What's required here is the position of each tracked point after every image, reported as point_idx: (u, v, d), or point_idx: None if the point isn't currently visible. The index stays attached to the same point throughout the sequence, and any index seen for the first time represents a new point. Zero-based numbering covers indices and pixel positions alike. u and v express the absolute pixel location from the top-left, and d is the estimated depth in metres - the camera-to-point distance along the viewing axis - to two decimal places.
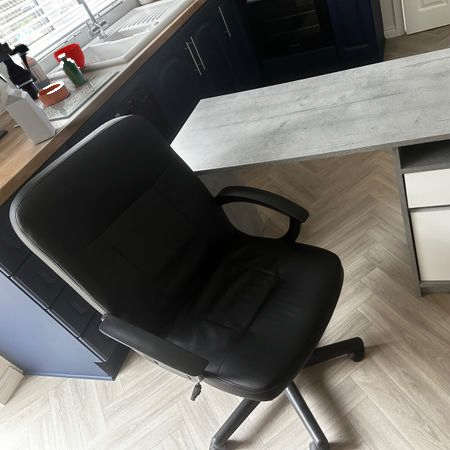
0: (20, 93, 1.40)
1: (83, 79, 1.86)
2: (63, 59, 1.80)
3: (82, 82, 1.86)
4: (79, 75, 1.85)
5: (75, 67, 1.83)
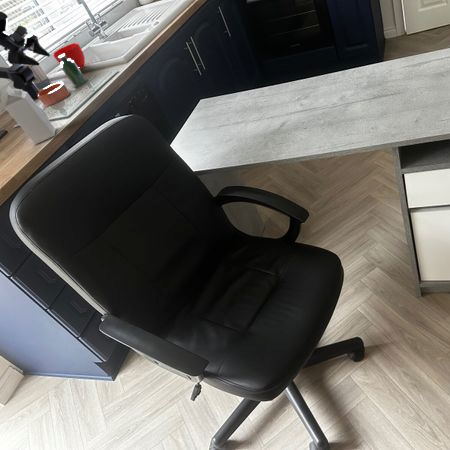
0: (20, 93, 1.40)
1: (83, 79, 1.86)
2: (63, 59, 1.80)
3: (82, 82, 1.86)
4: (79, 75, 1.85)
5: (75, 67, 1.83)
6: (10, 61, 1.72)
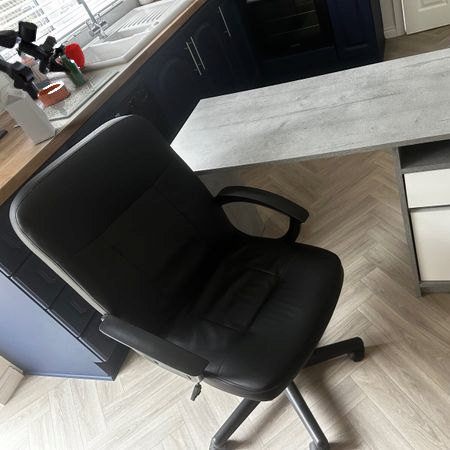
0: (20, 93, 1.40)
1: (83, 79, 1.86)
2: (63, 59, 1.80)
3: (82, 82, 1.86)
4: (79, 75, 1.85)
5: (75, 67, 1.83)
6: (41, 70, 1.75)
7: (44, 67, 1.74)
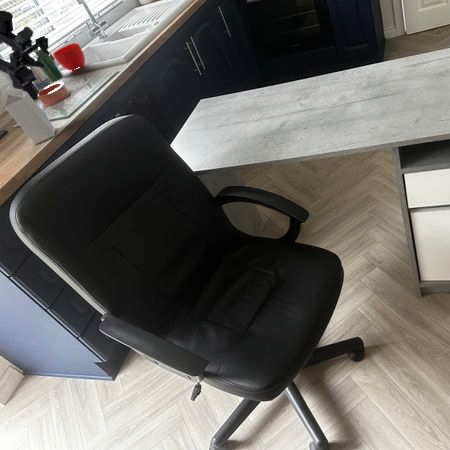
0: (20, 93, 1.40)
1: (58, 75, 1.77)
2: (37, 53, 1.71)
3: (57, 78, 1.77)
4: (54, 71, 1.76)
5: (49, 62, 1.74)
6: (12, 64, 1.69)
7: (14, 61, 1.67)
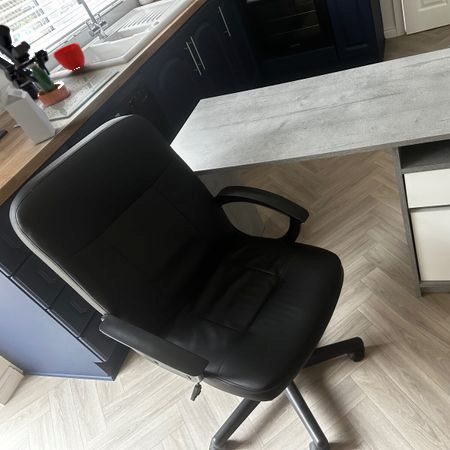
0: (20, 93, 1.40)
1: (52, 90, 1.78)
2: (32, 68, 1.72)
3: None
4: (48, 86, 1.76)
5: (43, 78, 1.74)
6: (7, 78, 1.71)
7: (8, 76, 1.70)
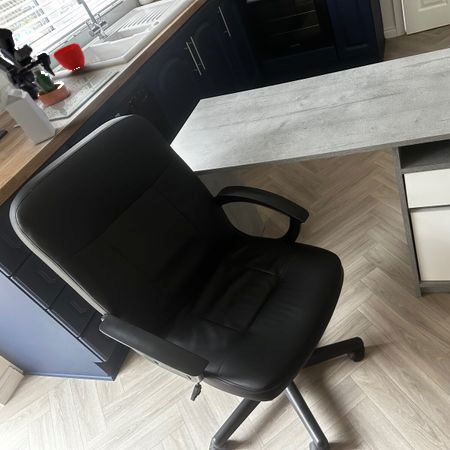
0: (20, 93, 1.40)
1: None
2: (35, 73, 1.74)
3: None
4: (51, 91, 1.77)
5: (46, 82, 1.75)
6: (10, 81, 1.72)
7: (10, 79, 1.70)
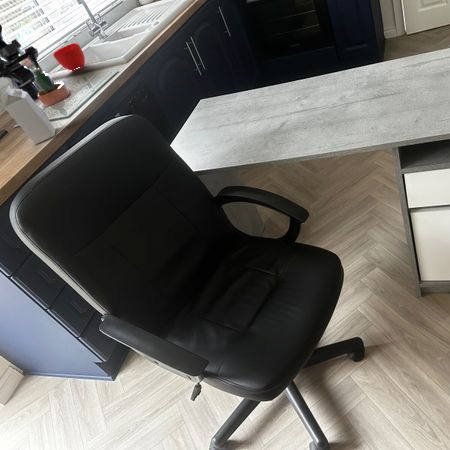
0: (20, 93, 1.40)
1: None
2: (35, 73, 1.74)
3: None
4: (51, 91, 1.77)
5: (46, 82, 1.75)
6: None
7: None
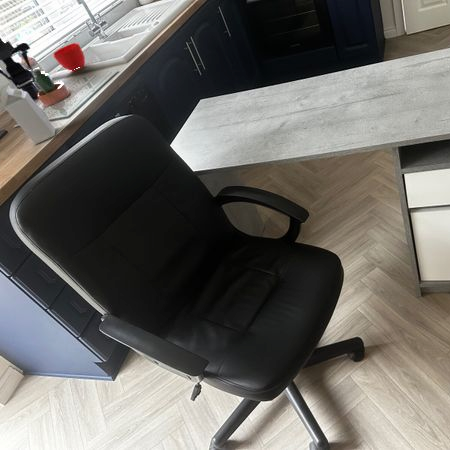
0: (20, 93, 1.40)
1: None
2: (35, 73, 1.74)
3: None
4: (51, 91, 1.77)
5: (46, 82, 1.75)
6: None
7: None
